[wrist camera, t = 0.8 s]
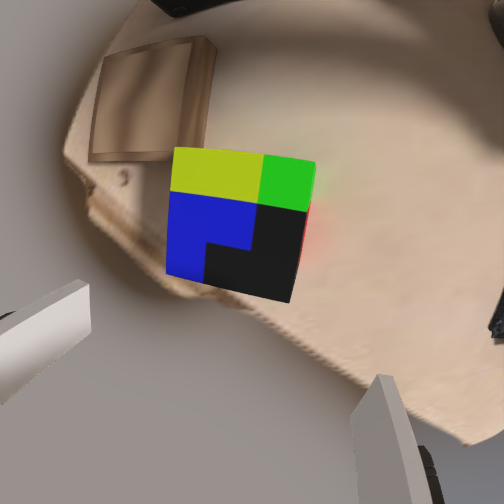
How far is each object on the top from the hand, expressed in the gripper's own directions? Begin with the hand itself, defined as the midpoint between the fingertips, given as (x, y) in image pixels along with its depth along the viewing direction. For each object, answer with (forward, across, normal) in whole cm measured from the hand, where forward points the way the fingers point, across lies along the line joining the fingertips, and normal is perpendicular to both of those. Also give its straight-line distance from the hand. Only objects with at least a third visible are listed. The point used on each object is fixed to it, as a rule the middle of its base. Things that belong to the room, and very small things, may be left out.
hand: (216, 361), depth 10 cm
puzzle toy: (+20, -2, +4) cm, 20 cm away
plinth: (+20, -17, +13) cm, 30 cm away
